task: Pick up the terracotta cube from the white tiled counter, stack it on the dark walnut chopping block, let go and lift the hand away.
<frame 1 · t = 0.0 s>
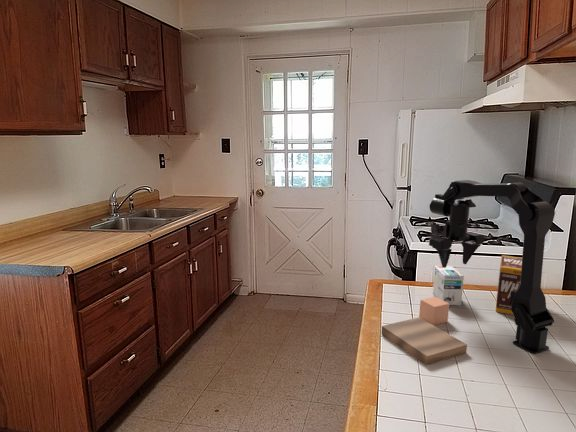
hand: (454, 265, 136), 15 cm above the worktop, tool pointing down, fingers open, 9 cm apart
walnut block: (421, 344, 115), on the worktop
light bulb box: (446, 299, 146), on the worktop
terracotta cube: (433, 319, 130), on the worktop
supplement box: (512, 307, 140), on the worktop
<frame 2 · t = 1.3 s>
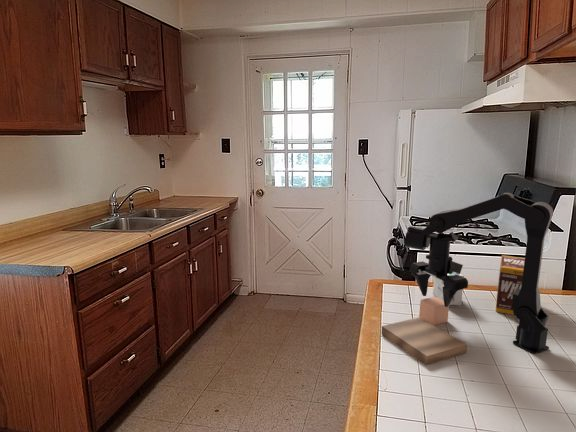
hand: (435, 301, 129), 6 cm above the worktop, tool pointing down, fingers open, 9 cm apart
nothing on the worktop moved.
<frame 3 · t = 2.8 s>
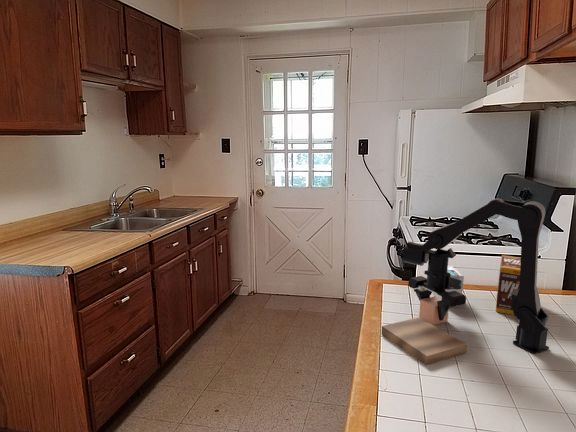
hand: (433, 316, 130), 1 cm above the worktop, tool pointing down, fingers closed on terracotta cube, 6 cm apart
terracotta cube: (433, 319, 130), on the worktop, touching gripper
everything else where it was.
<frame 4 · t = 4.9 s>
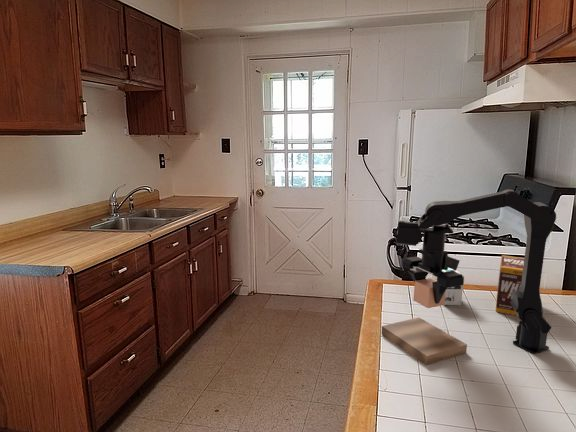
hand: (429, 299, 119), 10 cm above the worktop, tool pointing down, fingers closed on terracotta cube, 6 cm apart
terracotta cube: (428, 302, 119), point 9 cm above the worktop, touching gripper
everything else where it was.
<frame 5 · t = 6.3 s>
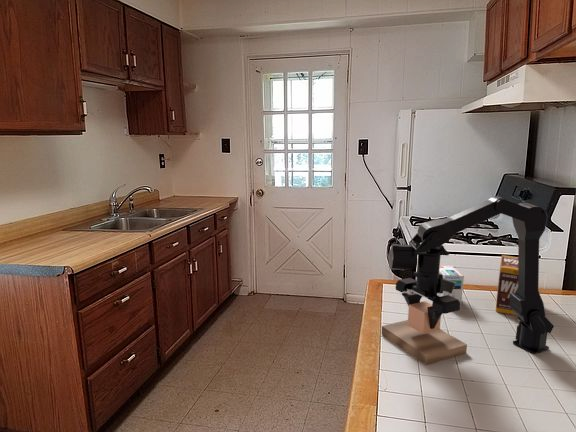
hand: (423, 323, 114), 6 cm above the worktop, tool pointing down, fingers closed on terracotta cube, 6 cm apart
terracotta cube: (423, 327, 114), point 5 cm above the worktop, touching gripper
everything else where it was.
when the fingers open (5 cm above the worktop, at t = 7.2 s): terracotta cube drops 2 cm, resting on walnut block.
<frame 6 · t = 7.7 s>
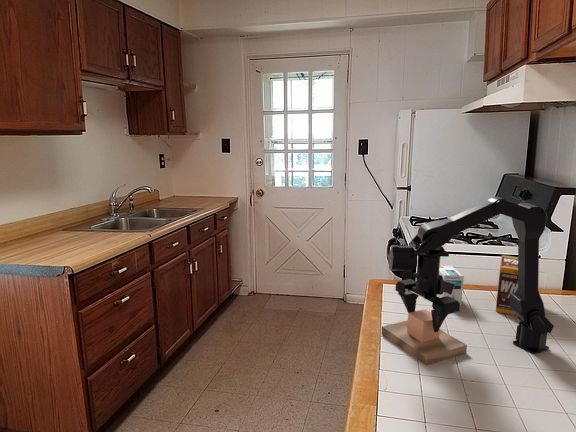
hand: (423, 324, 114), 5 cm above the worktop, tool pointing down, fingers open, 9 cm apart
walnut block: (421, 345, 115), on the worktop, touching terracotta cube
terracotta cube: (422, 335, 115), point 2 cm above the worktop, touching walnut block
everything else where it was.
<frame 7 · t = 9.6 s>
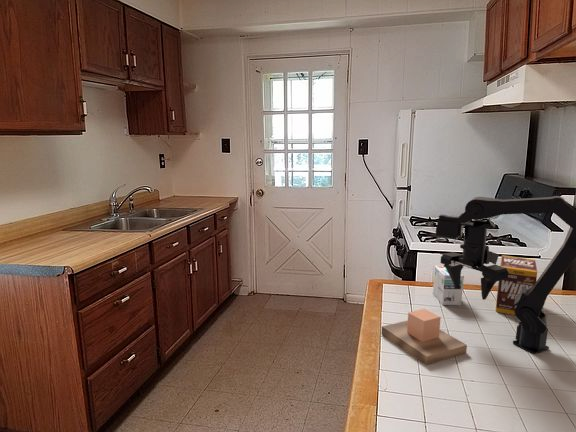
hand: (470, 293, 120), 12 cm above the worktop, tool pointing down, fingers open, 9 cm apart
nothing on the worktop moved.
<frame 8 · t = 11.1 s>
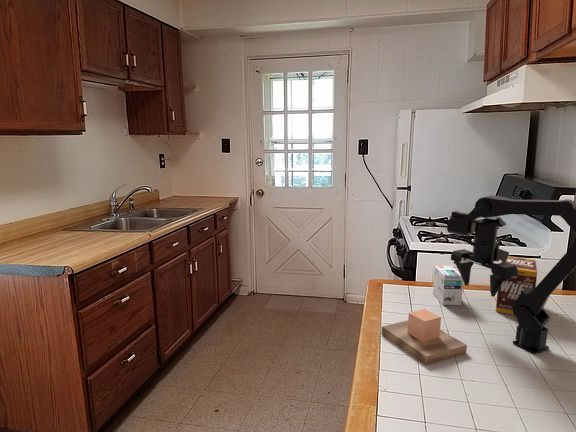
hand: (479, 290, 122), 12 cm above the worktop, tool pointing down, fingers open, 9 cm apart
nothing on the worktop moved.
at the end: terracotta cube inside the target area on the walnut block (0.3 cm from its centre), point 3.0 cm above the walnut block's base; terracotta cube tilted 0°; the gripper is holding nothing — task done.
